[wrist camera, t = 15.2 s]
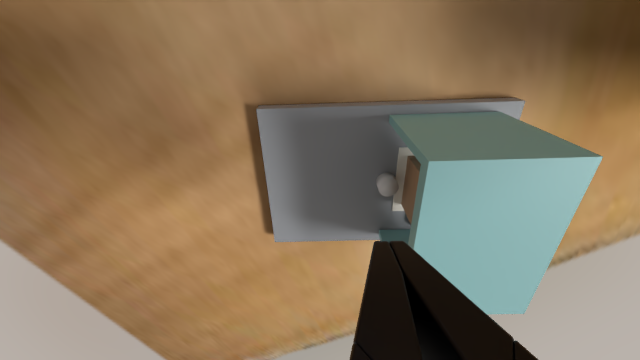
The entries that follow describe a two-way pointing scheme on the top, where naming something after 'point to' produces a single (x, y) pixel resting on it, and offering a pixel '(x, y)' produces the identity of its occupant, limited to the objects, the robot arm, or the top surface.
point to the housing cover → (491, 201)
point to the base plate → (344, 164)
